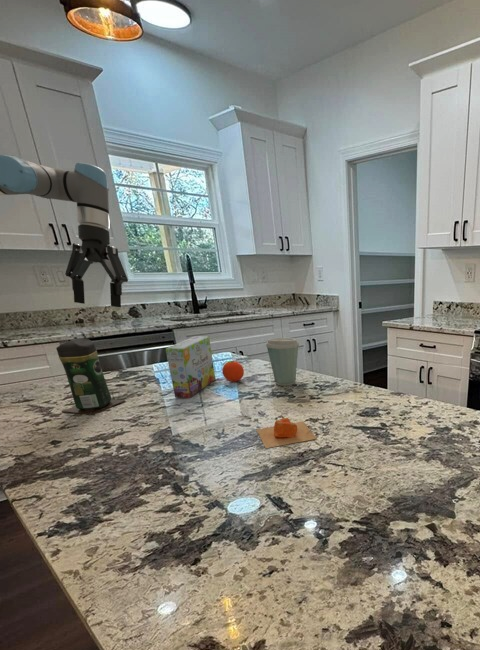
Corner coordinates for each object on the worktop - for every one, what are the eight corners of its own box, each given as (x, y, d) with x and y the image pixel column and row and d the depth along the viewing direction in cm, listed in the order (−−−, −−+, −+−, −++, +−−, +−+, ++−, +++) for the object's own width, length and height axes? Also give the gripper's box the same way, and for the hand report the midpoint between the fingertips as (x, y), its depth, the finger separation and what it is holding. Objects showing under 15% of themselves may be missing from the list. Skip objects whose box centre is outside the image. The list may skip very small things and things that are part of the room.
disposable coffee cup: (274, 378, 146) (269, 335, 139) (305, 378, 145) (301, 335, 139) (266, 387, 136) (260, 341, 130) (299, 387, 136) (295, 341, 129)
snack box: (192, 398, 127) (182, 348, 120) (174, 398, 127) (163, 348, 120) (217, 379, 146) (209, 335, 139) (201, 379, 146) (192, 335, 139)
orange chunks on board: (303, 422, 108) (302, 406, 106) (317, 439, 98) (315, 422, 96) (256, 429, 104) (254, 413, 102) (265, 448, 94) (263, 430, 92)
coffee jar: (86, 401, 123) (65, 337, 115) (115, 399, 125) (97, 336, 117) (71, 412, 115) (48, 344, 107) (103, 409, 116) (83, 342, 108)
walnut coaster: (61, 412, 116) (61, 410, 116) (98, 399, 126) (98, 397, 126) (90, 415, 114) (90, 413, 113) (125, 401, 124) (125, 400, 124)
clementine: (217, 382, 142) (213, 361, 139) (231, 377, 148) (228, 357, 145) (235, 385, 139) (232, 364, 136) (249, 379, 145) (246, 359, 142)
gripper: (140, 233, 120) (142, 309, 125) (72, 229, 126) (76, 303, 130) (118, 224, 113) (120, 306, 117) (47, 221, 118) (52, 299, 123)
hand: (97, 305), depth 124 cm, fingers open, 13 cm apart
